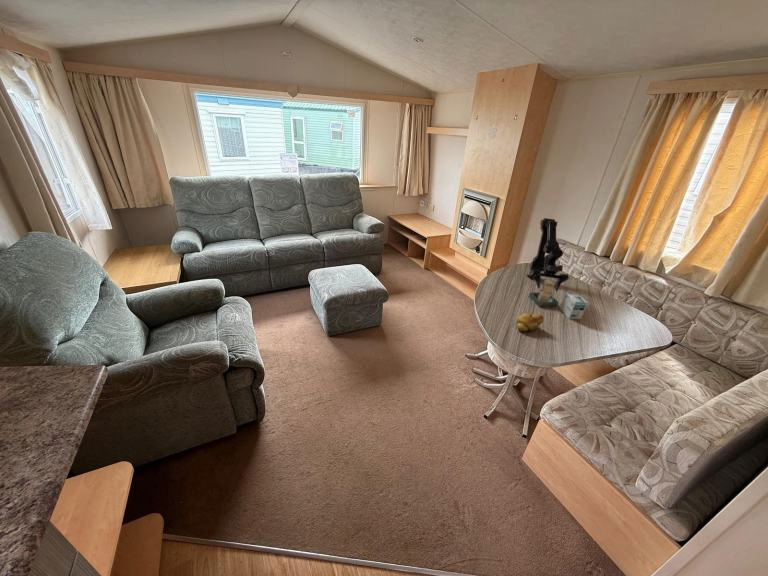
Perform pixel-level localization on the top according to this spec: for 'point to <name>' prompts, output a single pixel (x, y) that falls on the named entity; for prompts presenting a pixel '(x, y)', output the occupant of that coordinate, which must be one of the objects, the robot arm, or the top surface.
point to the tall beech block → (546, 290)
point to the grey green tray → (550, 303)
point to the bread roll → (529, 322)
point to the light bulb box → (573, 305)
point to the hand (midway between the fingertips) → (547, 289)
